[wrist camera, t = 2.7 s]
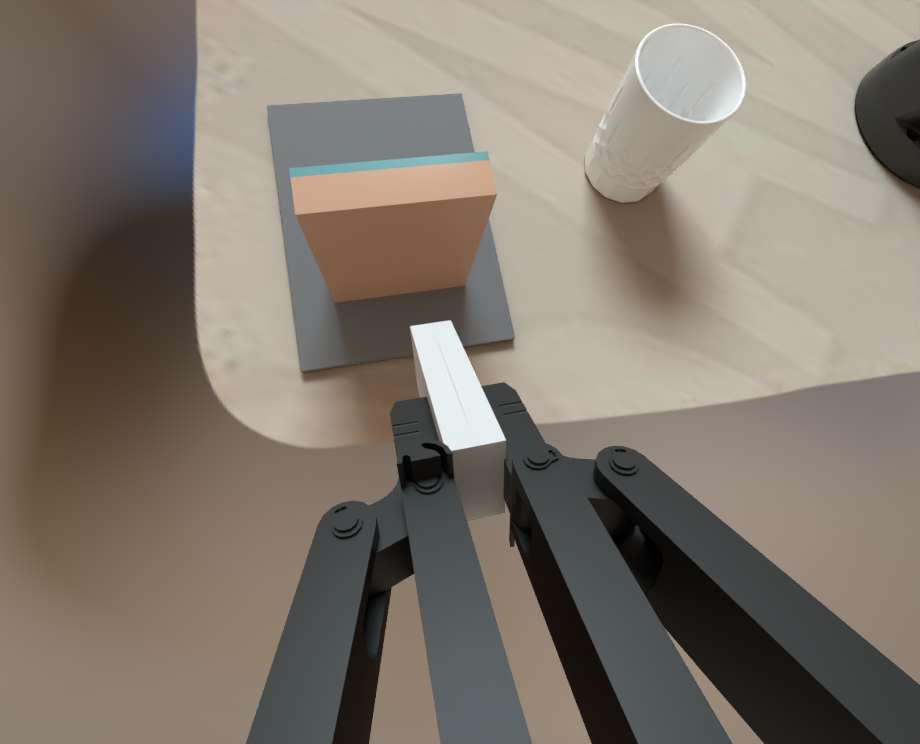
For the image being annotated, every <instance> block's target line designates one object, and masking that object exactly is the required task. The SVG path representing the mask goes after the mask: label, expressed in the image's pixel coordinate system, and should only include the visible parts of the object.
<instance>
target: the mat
mask: <svg viewBox="0 0 920 744" xmlns="http://www.w3.org/2000/svg"><path fill="white" fill-rule="evenodd" d="M267 110H268V118H269V126H270V134H271V142H272V149H273V157H274V165H275V173H276V181H277V188H278V196H279V204H280V212H281V219H282V227H283V235H284V243H285V251H286V258H287V266H288V274H289V282H290V290H291V297H292V305H293V313H294V321H295V328H296V336H297V344H298V352H299V360H300V367H301V372H302V373H305V372H312V371H318V370H325V369H331V368H337V367H344V366H350V365H357V364H363V363H369V362H376V361H382V360H389V359H395V358H401V357H408V356H414V355H413V347H412V339H411V331H410V326H414V325H421V324H428V323H435V322H442V321H449V320H451V322H452V324H453V326H454V329H455V331H456V333H457V335H458V337H459V339H460V341H461V344H462V346H463V348H465V347H472V346H478V345H485V344H491V343H497V342H504V341H510V340H514V338H515V336H514V331H513V327H512V322H511V318H510V313H509V308H508V304H507V299H506V295H505V290H504V286H503V281H502V276H501V272H500V267H499V263H498V258H497V254H496V249H495V244H494V240H493V235H492V231H491V226H490V222H489V219H488V221H487V224H486V227H485V230H484V233H483V236H482V239H481V242H480V245H479V247H478V250H477V253H476V256H475V259H474V262H473V265H472V268H471V271H470V273H469V276H468V279H467V282H466V285H465V286H458V287H451V288H443V289H436V290H428V291H421V292H413V293H406V294H398V295H391V296H383V297H376V298H368V299H361V300H353V301H346V302H338V303H334V301H333V298H332V296H331V294H330V292H329V289H328V287H327V285H326V283H325V280H324V278H323V276H322V274H321V271H320V269H319V267H318V265H317V262H316V260H315V258H314V256H313V253H312V251H311V249H310V247H309V244H308V242H307V240H306V238H305V235H304V233H303V231H302V229H301V226H300V224H299V222H298V220H297V217H296V215H295V209H294V201H293V194H292V186H291V179H290V171H289V168H298V167H310V166H322V165H334V164H345V163H357V162H369V161H381V160H392V159H404V158H416V157H428V156H439V155H451V154H463V153H474V149H473V144H472V139H471V135H470V130H469V126H468V121H467V117H466V112H465V107H464V103H463V98H462V94H445V95H429V96H414V97H398V98H382V99H366V100H350V101H334V102H319V103H303V104H287V105H271V106H267Z"/></svg>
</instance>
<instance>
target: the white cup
mask: <svg viewBox="0 0 920 744" xmlns="http://www.w3.org/2000/svg"><path fill="white" fill-rule="evenodd" d="M745 93H746V78H745V74H744V70H743V68H742V65H741V63H740V61H739V59H738V58H737V56H736V55H735V53H734V52H733V51H732V49H731V48H730V47H729V46H728V45H727V44H726V43H725V42H724V41H722V40H721V39H720V38H719V37H717V36H716V35H714V34H712V33H711V32H709V31H707V30H705V29H702V28H700V27H696V26H693V25H688V24H668V25H664V26H661V27H658V28H656V29H654V30H652V31H651V32H650V33H648V34H647V35H646V36H645V37H644V38H643V40H642V41H641V43H640V44H639V46H638V48H637V50H636V52H635V54H634V56H633V58H632V60H631V62H630V64H629V66H628V68H627V70H626V72H625V74H624V76H623V78H622V80H621V82H620V84H619V86H618V88H617V90H616V92H615V94H614V96H613V98H612V100H611V102H610V103H609V105H608V107H607V109H606V111H605V114H604V116H603V118H602V120H601V122H600V124H599V126H598V130H597V133H596V135H595V138H594V140H593V142H592V144H591V145H590V147H589V149H588V151H587V153H586V155H585V172H586V174H587V176H588V178H589V180H590V182H591V184H592V186H593V187H594V188H595V189H596V190H597V191H599V192H600V193H601V194H602V195H603V196H604V197H606V198H609V199H612V200H615V201H618V202H621V203H626V202H635V201H639V200H641V199H642V198H644V197H645V196H647V195H648V194H650V193H651V192H652V191H653V190H654V189H655V188H656V187H657V186H658V185H659V184H660V183H661V182H662V181H664V180H665V179H666V178H668V177H669V176H670V175H671V174H672V173H673V172H674V171H675V170H676V169H677V168H678V167H680V166H681V165H682V164H683V163H684V162H685V161H686V160H687V159H688V158H689V157H690V156H691V155H692V154H693V153H694V152H695V151H696V150H698V149H699V148H700V147H701V146H702V145H703V144H704V143H705V142H706V141H707V140H708V139H709V138H710V137H711V136H712V135H713V134H714V133H715V132H716V131H717V130H718V129H719V128H720V127H721V126H722V125H723V124H724V123H725V122H726V121H727V120H728V119H729V118H730V117H731V116H733V115H734V114H735V113H736V112H737V110H738V109H739V108H740V106H741V104H742V102H743V100H744V97H745Z"/></svg>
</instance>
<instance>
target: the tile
mask: <svg viewBox="0 0 920 744" xmlns="http://www.w3.org/2000/svg"><path fill="white" fill-rule="evenodd" d="M289 171H290V179H291V186H292V194H293V201H294V209H295V215H296V217H297V220H298V222H299V224H300V226H301V229H302V231H303V233H304V235H305V238H306V240H307V242H308V244H309V247H310V249H311V251H312V253H313V256H314V258H315V260H316V262H317V265H318V267H319V269H320V271H321V274H322V276H323V278H324V280H325V283H326V285H327V287H328V289H329V292H330V294H331V296H332V298H333V301H334V303H338V302H346V301H353V300H361V299H368V298H376V297H383V296H391V295H398V294H406V293H413V292H421V291H428V290H436V289H443V288H451V287H458V286H465V285H466V282H467V279H468V276H469V273H470V271H471V268H472V265H473V262H474V259H475V256H476V253H477V250H478V247H479V245H480V242H481V239H482V236H483V233H484V230H485V227H486V224H487V221H488V219H489V216H490V213H491V210H492V207H493V204H494V201H495V198H496V195H497V193H496V188H495V184H494V179H493V175H492V170H491V166H490V162H489V157H488V153H487V151H486V152H475V153H463V154H451V155H439V156H428V157H416V158H404V159H392V160H381V161H369V162H357V163H345V164H334V165H322V166H310V167H298V168H289Z"/></svg>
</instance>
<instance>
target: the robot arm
mask: <svg viewBox="0 0 920 744" xmlns="http://www.w3.org/2000/svg"><path fill="white" fill-rule="evenodd" d="M856 114H857V119H858V123H859V126H860V129H861V131H862V134H863V136H864V138H865V140H866V141H867V143H868V145H869V146H870V148H871V149H872V151H873V152H874V153H875V155H876V156H877V157H878V158H879V159H880V160H881V161H882V162H883V163H884V164H885V165H886V166H887V167H888V168H889V169H890V170H891V171H893V172H894V173H895V174H897V175H898V176H899V177H901V178H902V179H904V180H906V181H908V182H910V183H912V184H914V185H916V186H918V187H920V40H918V41H913V42H910V43H908V44H906V45H904V46H902V47H900V48H898V49H897V50H895V51H894V52H892V53H891V54H890V55H888V56H887V57H886V58H885V59H884V60H882V61H881V62H880V63H879V64H878V65H876V66H875V67H874V68H873V69H872V70H870V71H869V72H868V73H867V74H866V75H865V77H864V78H863V79H862V81H861V83H860V85H859V87H858V91H857V95H856ZM410 331H411V339H412V347H413V355H414V364H415V372H416V380H417V388H418V392H419V396H420V398H416V399H411V400H405V401H399V402H395V404H394V406H393V408H392V411H391V413H390V416H391V422H392V429H393V436H394V442H395V448H396V455H397V467H398V473H399V479H398V482H397V485H396V487H395V488H394V489H393V491H392V492H391V493H390V494H388V495H387V496H386V497H384V498H383V499H381V500H380V501H378V502H376V503H374V504H372V505H370V506H369V505H367V504H365V503H364V502H358V501H349V502H343V503H340V504H338V505H336V506H334V507H332V508H331V509H330V510H329V511H328V512H327V513H326V514H324V515H323V517H322V519H321V520H320V522H319V524H318V527H317V529H316V532H315V536H314V539H313V541H312V544H311V547H310V550H309V554H308V557H307V560H306V563H305V566H304V569H303V572H302V575H301V578H300V581H299V584H298V587H297V590H296V593H295V596H294V599H293V602H292V605H291V608H290V611H289V614H288V618H287V620H286V624H285V627H284V630H283V633H282V636H281V639H280V642H279V645H278V648H277V651H276V654H275V657H274V660H273V663H272V666H271V669H270V672H269V676H268V678H267V682H266V684H265V688H264V691H263V694H262V697H261V700H260V703H259V706H258V709H257V712H256V715H255V718H254V721H253V724H252V727H251V730H250V733H249V736H248V739H247V742H246V744H369V739H370V732H371V725H372V718H373V711H374V704H375V698H376V691H377V684H378V677H379V670H380V663H381V656H382V650H383V643H384V635H385V629H386V622H387V615H388V607H389V601H390V595H391V587H392V586H394V585H396V584H397V583H399V582H401V581H402V580H404V579H406V578H407V577H409V576H411V575H412V574H415V581H416V587H417V594H418V600H419V607H420V613H421V620H422V626H423V633H424V639H425V646H426V652H427V658H428V664H429V671H430V678H431V684H432V691H433V697H434V704H435V710H436V717H437V723H438V729H439V736H440V742H441V744H532V741H531V738H530V735H529V731H528V728H527V724H526V721H525V718H524V714H523V711H522V708H521V704H520V700H519V697H518V694H517V690H516V687H515V684H514V680H513V677H512V673H511V670H510V666H509V663H508V659H507V656H506V653H505V649H504V646H503V642H502V639H501V636H500V632H499V629H498V625H497V622H496V618H495V615H494V612H493V608H492V605H491V601H490V598H489V595H488V591H487V588H486V584H485V581H484V578H483V574H482V571H481V567H480V564H479V560H478V557H477V554H476V550H475V547H474V543H473V540H472V536H471V533H470V530H469V527H468V523H467V521H469V520H473V519H478V518H483V517H487V516H492V515H496V514H501V513H504V512H505V502H506V504H507V507H508V510H509V512H510V534H509V535H510V536H509V540H510V547H513V546H514V540H515V541H516V544H517V547H518V550H519V552H520V555H521V558H522V560H523V563H524V566H525V568H526V571H527V573H528V576H529V579H530V581H531V584H532V587H533V589H534V591H535V595H536V597H537V600H538V603H539V605H540V608H541V611H542V613H543V616H544V618H545V621H546V624H547V626H548V629H549V632H550V634H551V637H552V640H553V642H554V645H555V647H556V650H557V653H558V656H559V658H560V661H561V663H562V666H563V669H564V671H565V674H566V677H567V679H568V682H569V685H570V687H571V690H572V693H573V695H574V698H575V701H576V703H577V705H578V709H579V711H580V714H581V716H582V719H583V722H584V724H585V727H586V730H587V732H588V735H589V738H590V740H591V743H592V744H732V742H731V740H730V739H729V737H728V735H727V734H726V732H725V730H724V728H723V727H722V725H721V724H720V722H719V720H718V718H717V717H716V715H715V713H714V712H713V710H712V708H711V707H710V705H709V703H708V701H707V700H706V698H705V696H704V695H703V693H702V691H701V689H700V688H699V686H698V684H697V683H696V681H695V679H694V678H693V676H692V674H691V673H690V671H689V669H688V667H687V666H686V664H685V662H684V661H683V659H682V657H681V656H680V654H679V652H678V651H677V649H676V647H675V645H674V644H673V642H672V640H671V639H670V637H669V635H668V634H667V632H666V630H667V631H668V632H669V633H670V634H671V636H672V637H673V638H674V639H675V640H676V641H677V643H678V644H679V645H680V646H681V647H682V648H683V649H684V651H685V652H686V653H687V654H688V655H689V657H690V658H691V659H692V660H693V661H694V662H695V664H696V665H697V666H698V667H699V668H700V669H701V671H702V672H703V673H704V674H705V675H706V676H707V678H708V679H709V680H710V681H711V682H712V683H713V684H714V686H715V687H716V688H717V689H718V690H719V691H720V693H721V694H722V695H723V696H724V697H725V698H726V700H727V701H728V702H729V703H730V704H731V705H732V707H734V709H735V710H736V711H737V712H738V714H739V715H740V716H741V717H742V718H743V719H744V721H745V722H746V723H747V724H748V725H749V726H750V727H751V729H752V730H753V731H754V732H755V733H756V735H757V736H758V737H759V738H760V739H761V740H762V741H763V743H764V744H920V685H919V684H918V683H917V682H916V681H914V680H913V679H912V678H911V677H910V676H908V675H907V674H906V673H905V672H904V671H902V670H901V669H900V668H899V667H898V666H896V665H895V664H894V663H893V662H892V661H890V660H889V659H888V658H887V657H885V656H884V655H883V654H882V653H881V652H879V651H878V650H877V649H876V648H875V647H874V646H872V645H871V644H870V643H869V642H867V641H866V640H865V639H864V638H862V637H861V636H860V635H859V634H858V633H857V632H855V631H854V630H853V629H852V628H850V627H849V626H848V625H847V624H846V623H845V622H843V621H842V620H841V619H840V618H838V617H837V616H836V615H835V614H834V613H833V612H831V611H830V610H829V609H828V608H827V607H825V606H824V605H823V604H822V603H821V602H819V601H818V600H817V599H816V598H814V597H813V596H812V595H811V594H810V593H808V592H807V591H806V590H805V589H804V588H802V587H801V586H800V585H799V584H798V583H796V582H795V581H794V580H793V579H792V578H790V577H789V576H788V575H787V574H786V573H784V572H783V571H782V570H781V569H779V568H778V567H777V566H776V565H775V564H773V563H772V562H771V561H770V560H768V559H767V558H766V557H765V556H764V555H763V554H762V553H760V552H759V551H758V550H757V549H755V548H754V547H753V546H752V545H751V544H749V543H748V542H747V541H746V540H745V539H743V538H742V537H741V536H740V535H739V534H737V533H736V532H735V531H734V530H733V529H731V528H730V527H729V526H728V525H727V524H725V523H724V522H723V521H722V520H720V519H719V518H718V517H717V516H716V515H715V514H713V513H712V512H711V511H710V510H708V509H707V508H706V507H705V506H704V505H702V504H701V503H700V502H699V501H698V500H696V499H695V498H694V497H693V496H692V495H690V494H689V493H688V492H687V491H685V490H684V489H683V488H682V487H681V486H680V485H678V484H677V483H676V482H675V481H674V480H672V479H671V478H670V477H669V476H668V475H666V474H665V473H664V472H663V471H661V470H660V469H659V468H658V467H657V466H656V465H654V464H653V463H652V462H651V461H649V460H648V459H647V458H646V457H645V456H643V455H642V454H640V453H639V452H637V451H635V450H633V449H630V448H627V447H623V446H612V447H607V448H604V449H603V450H602V451H600V452H599V453H598V455H597V458H596V460H591V459H575V458H569V457H566V456H563V455H562V454H561V453H560V452H559V451H558V450H557V449H556V448H554V447H552V446H551V445H549V444H546V443H545V442H544V440H543V438H542V436H541V434H540V433H539V431H538V429H537V427H536V426H535V424H534V422H533V420H532V418H531V417H530V415H529V413H528V412H527V410H526V408H525V406H524V404H523V403H522V401H521V399H520V397H519V396H518V394H517V392H516V390H514V389H513V388H511V387H510V386H509V385H507V384H506V383H498V384H492V385H486V386H481V385H480V383H479V380H478V378H477V376H476V374H475V372H474V370H473V367H472V365H471V363H470V361H469V359H468V357H467V354H466V352H465V350H464V348H463V346H462V344H461V341H460V339H459V337H458V335H457V333H456V331H455V329H454V326H453V324H452V322H451V320H449V321H442V322H435V323H428V324H421V325H414V326H410ZM663 626H664V627H663ZM665 629H666V630H665Z"/></svg>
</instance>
